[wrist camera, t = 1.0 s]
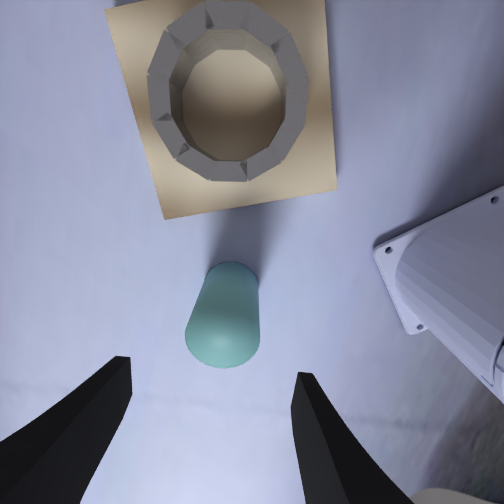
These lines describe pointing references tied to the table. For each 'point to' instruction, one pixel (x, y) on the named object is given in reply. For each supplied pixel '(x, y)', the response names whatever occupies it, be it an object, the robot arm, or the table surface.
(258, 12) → the socket collar
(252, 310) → the teal cylinder
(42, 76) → the table surface
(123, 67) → the dock plate
